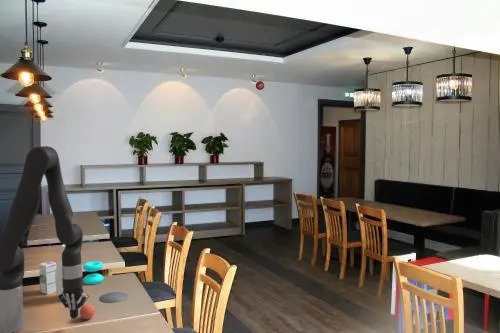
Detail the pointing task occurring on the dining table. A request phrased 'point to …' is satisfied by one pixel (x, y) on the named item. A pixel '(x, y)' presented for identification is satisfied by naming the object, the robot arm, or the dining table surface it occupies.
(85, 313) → the ball
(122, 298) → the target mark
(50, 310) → the dining table surface
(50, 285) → the syrup box
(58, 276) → the bottle
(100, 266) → the donuts
